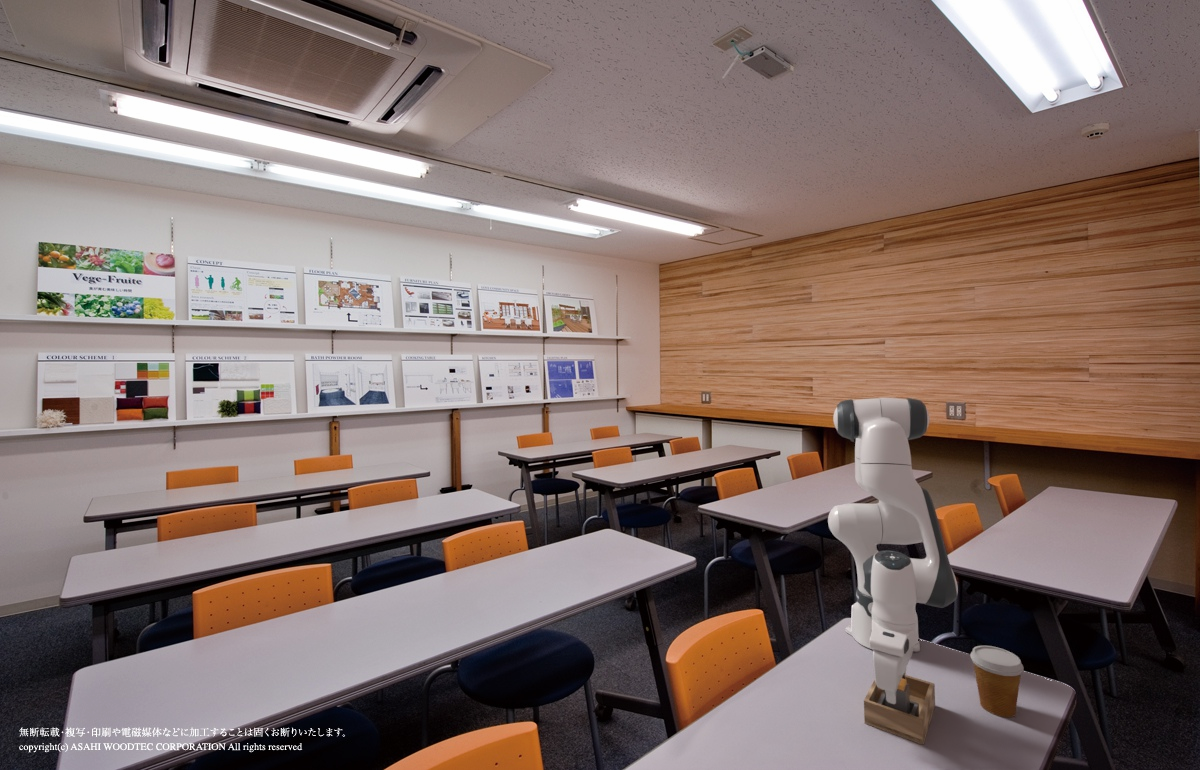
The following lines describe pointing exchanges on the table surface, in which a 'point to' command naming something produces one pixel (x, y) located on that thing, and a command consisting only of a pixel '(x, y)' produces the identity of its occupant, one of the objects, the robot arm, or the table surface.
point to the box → (898, 721)
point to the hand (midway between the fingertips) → (896, 690)
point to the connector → (901, 698)
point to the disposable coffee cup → (997, 679)
